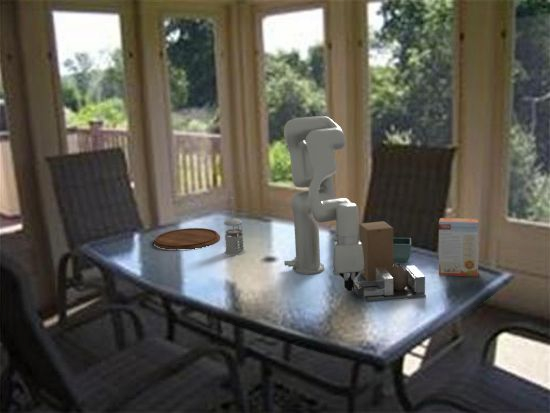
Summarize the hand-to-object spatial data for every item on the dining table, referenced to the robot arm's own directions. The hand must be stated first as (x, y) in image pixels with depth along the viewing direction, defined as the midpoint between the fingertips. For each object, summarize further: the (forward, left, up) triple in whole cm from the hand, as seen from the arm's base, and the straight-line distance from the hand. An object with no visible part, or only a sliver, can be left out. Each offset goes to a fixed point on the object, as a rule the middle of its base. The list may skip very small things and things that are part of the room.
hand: (349, 289), depth 212 cm
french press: (-38, +62, -3) cm, 73 cm away
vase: (+17, 0, -1) cm, 17 cm away
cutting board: (-61, +86, -3) cm, 106 cm away
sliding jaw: (+8, 0, -1) cm, 8 cm away
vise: (+15, 0, -2) cm, 15 cm away
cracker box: (+44, +13, -3) cm, 46 cm away
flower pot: (+27, +31, -3) cm, 41 cm away
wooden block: (+14, +17, -3) cm, 22 cm away
